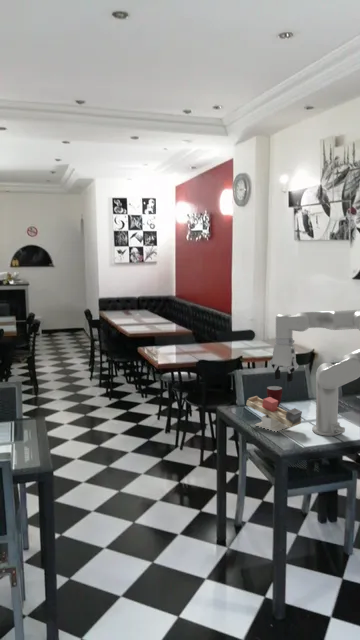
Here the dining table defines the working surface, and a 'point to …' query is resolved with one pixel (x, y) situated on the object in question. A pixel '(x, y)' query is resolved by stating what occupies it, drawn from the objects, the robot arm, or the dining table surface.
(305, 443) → the dining table surface
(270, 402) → the block
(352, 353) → the robot arm
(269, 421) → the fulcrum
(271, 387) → the mug
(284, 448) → the dining table surface
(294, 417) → the beam
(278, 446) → the dining table surface
